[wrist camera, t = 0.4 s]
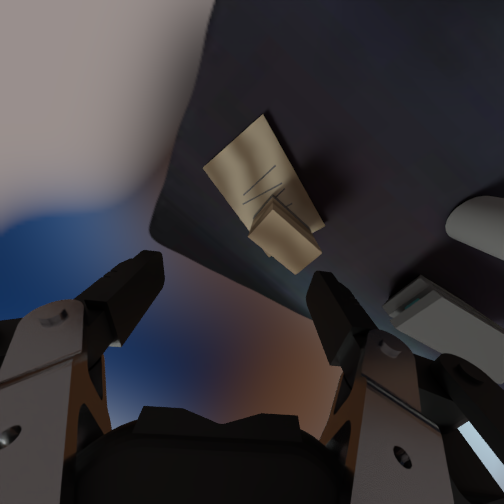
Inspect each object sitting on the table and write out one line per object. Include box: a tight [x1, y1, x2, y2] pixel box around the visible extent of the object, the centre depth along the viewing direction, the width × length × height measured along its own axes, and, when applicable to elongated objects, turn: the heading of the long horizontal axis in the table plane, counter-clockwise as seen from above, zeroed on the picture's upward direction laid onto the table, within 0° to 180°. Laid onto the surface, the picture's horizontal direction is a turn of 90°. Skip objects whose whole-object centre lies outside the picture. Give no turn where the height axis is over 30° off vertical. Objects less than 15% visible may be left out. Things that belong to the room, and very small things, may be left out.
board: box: [203, 115, 325, 257], centre depth 31 cm, size 12×20×1 cm, turn 36°
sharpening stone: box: [382, 275, 504, 384], centre depth 33 cm, size 25×8×11 cm, turn 61°
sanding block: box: [248, 194, 322, 275], centre depth 28 cm, size 5×9×10 cm, turn 51°
